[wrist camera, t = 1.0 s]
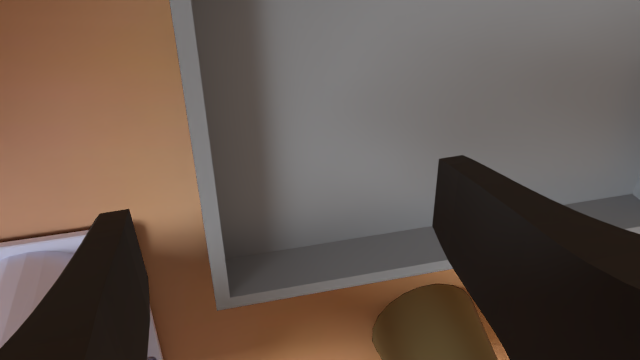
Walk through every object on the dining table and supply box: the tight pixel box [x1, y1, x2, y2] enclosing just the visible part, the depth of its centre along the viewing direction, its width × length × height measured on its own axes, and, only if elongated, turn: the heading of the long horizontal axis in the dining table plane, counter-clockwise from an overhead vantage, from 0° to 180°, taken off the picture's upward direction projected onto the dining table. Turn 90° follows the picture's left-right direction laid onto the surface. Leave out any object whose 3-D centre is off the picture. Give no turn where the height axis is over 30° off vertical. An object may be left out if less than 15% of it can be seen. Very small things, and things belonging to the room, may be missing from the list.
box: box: [169, 0, 640, 311], centre depth 22 cm, size 16×22×3 cm
